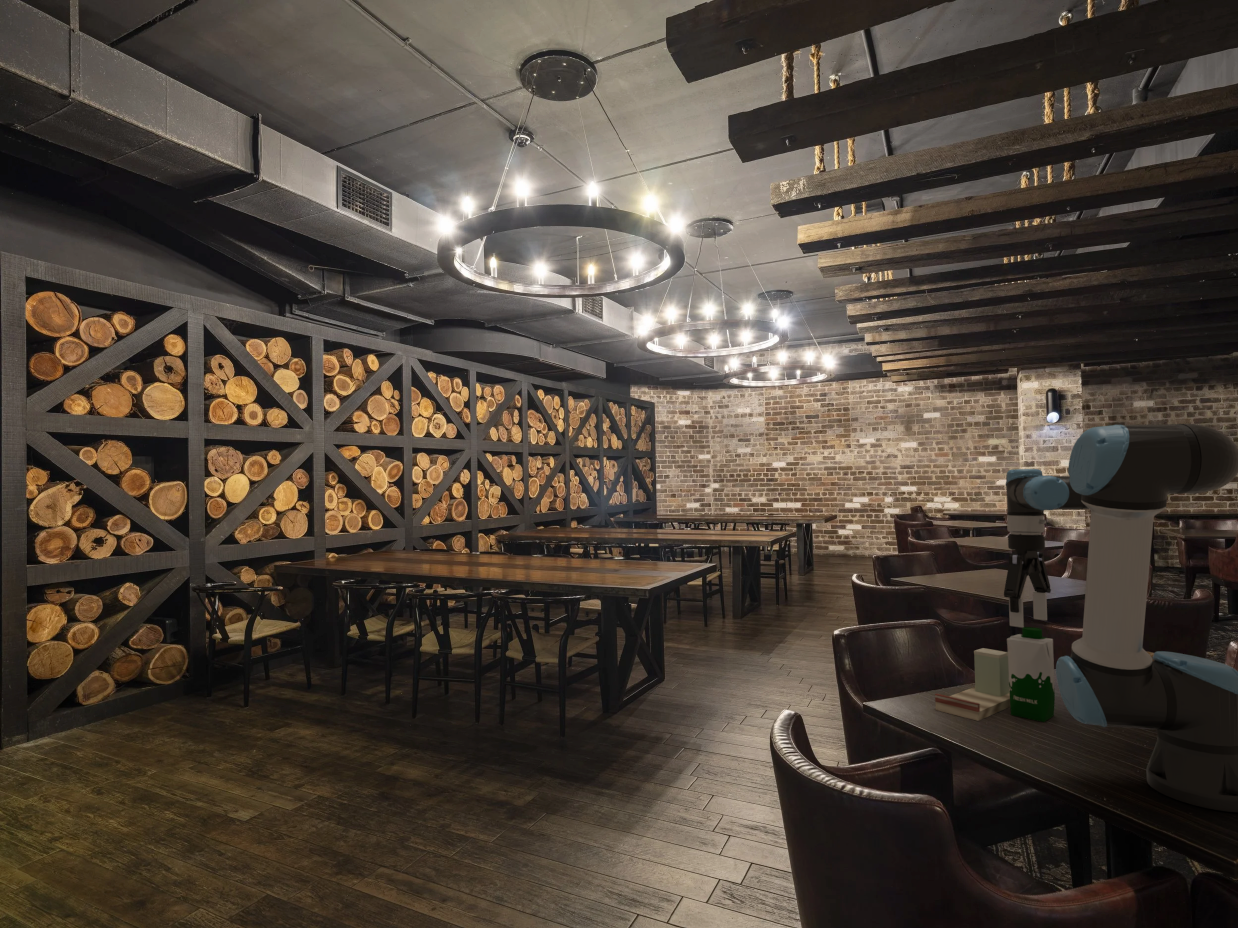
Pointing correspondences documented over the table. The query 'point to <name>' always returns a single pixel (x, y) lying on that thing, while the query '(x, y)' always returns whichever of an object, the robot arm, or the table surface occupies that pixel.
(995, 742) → the table surface
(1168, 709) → the robot arm
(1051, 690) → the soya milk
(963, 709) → the shelf board
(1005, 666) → the tea tin
